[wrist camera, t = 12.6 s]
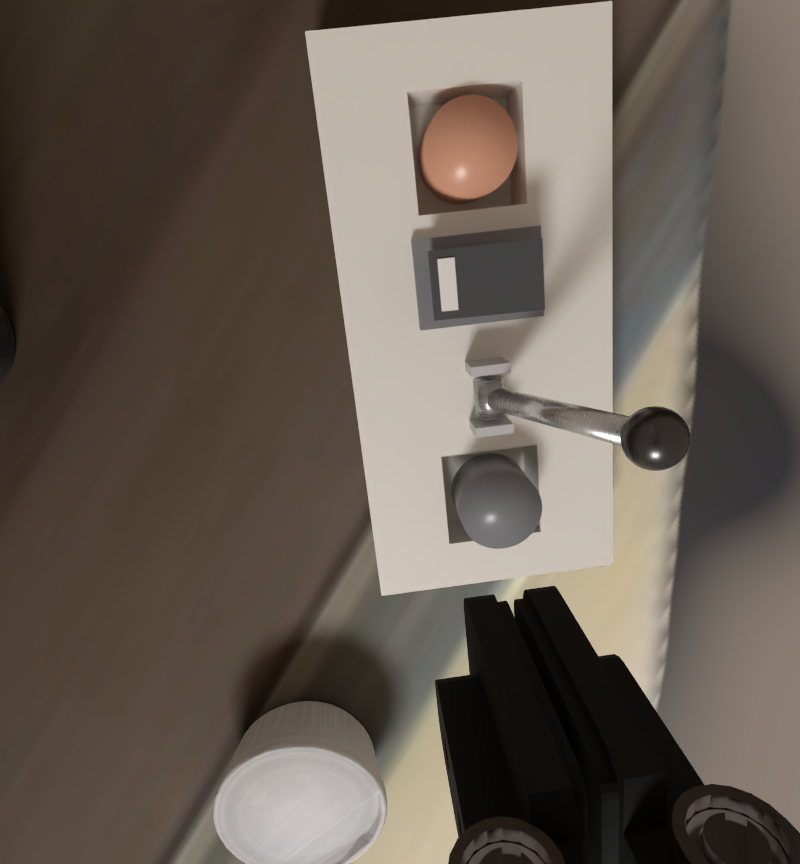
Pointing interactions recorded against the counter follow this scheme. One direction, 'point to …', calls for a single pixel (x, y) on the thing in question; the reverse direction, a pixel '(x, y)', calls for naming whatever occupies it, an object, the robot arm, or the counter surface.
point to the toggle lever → (592, 422)
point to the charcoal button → (495, 501)
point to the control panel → (379, 279)
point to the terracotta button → (467, 149)
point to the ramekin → (301, 789)
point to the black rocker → (487, 279)
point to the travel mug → (6, 345)
